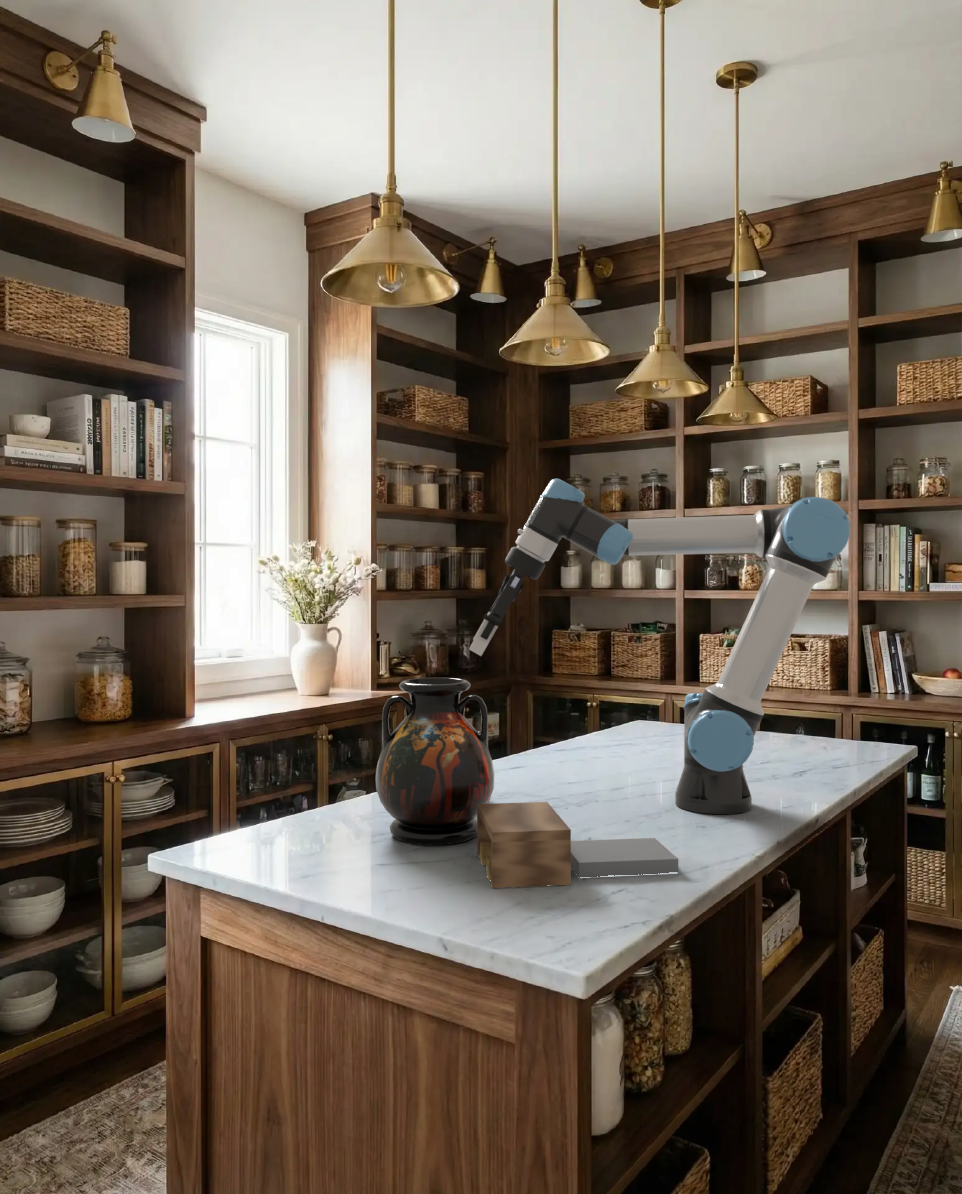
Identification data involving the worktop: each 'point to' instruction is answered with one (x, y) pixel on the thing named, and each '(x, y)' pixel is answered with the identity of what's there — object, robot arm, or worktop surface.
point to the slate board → (621, 857)
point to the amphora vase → (434, 764)
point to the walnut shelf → (523, 844)
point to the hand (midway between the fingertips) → (476, 647)
